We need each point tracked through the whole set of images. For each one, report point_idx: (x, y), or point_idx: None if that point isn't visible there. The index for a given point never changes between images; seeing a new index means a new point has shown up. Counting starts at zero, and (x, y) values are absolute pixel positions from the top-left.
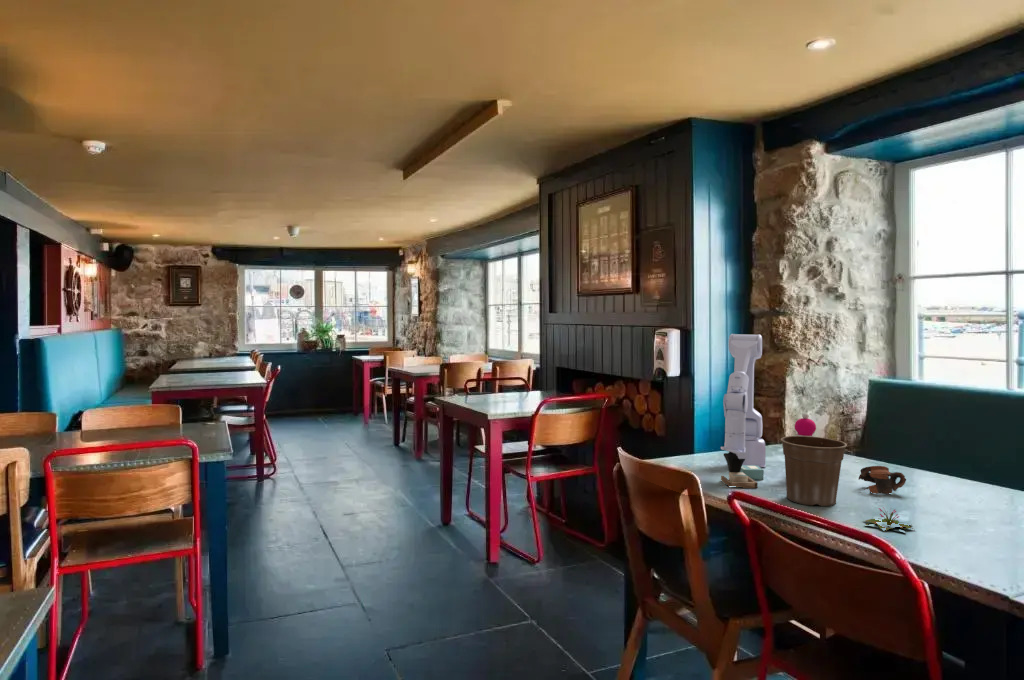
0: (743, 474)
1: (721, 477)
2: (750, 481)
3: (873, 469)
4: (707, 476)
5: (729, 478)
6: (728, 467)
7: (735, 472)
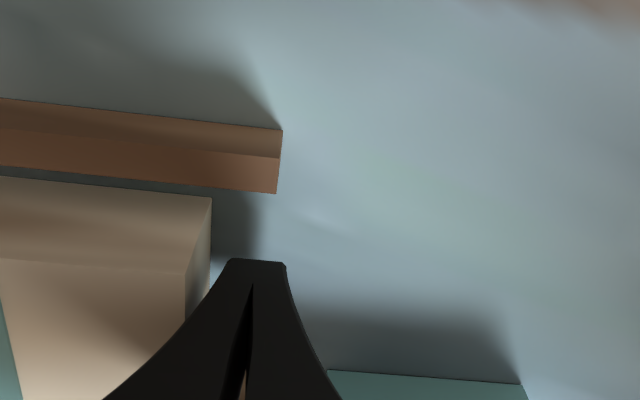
0: (59, 388)
1: (257, 148)
2: None
3: None
4: (563, 48)
5: (178, 223)
6: (281, 336)
7: None
